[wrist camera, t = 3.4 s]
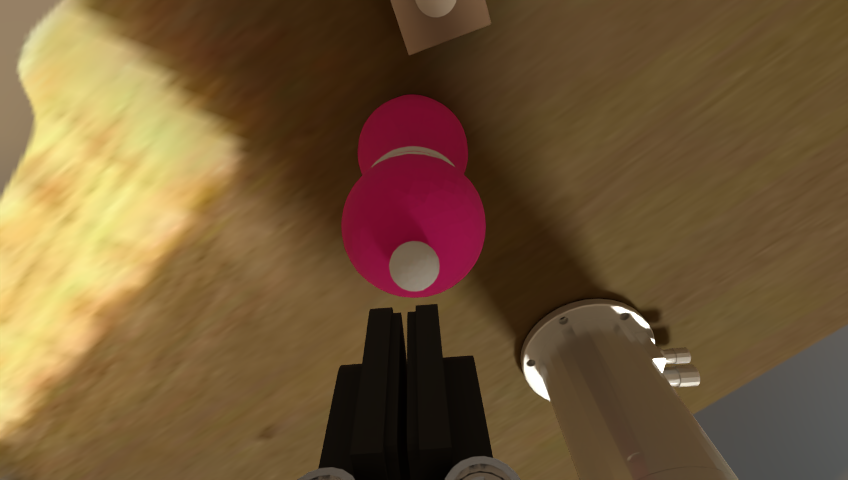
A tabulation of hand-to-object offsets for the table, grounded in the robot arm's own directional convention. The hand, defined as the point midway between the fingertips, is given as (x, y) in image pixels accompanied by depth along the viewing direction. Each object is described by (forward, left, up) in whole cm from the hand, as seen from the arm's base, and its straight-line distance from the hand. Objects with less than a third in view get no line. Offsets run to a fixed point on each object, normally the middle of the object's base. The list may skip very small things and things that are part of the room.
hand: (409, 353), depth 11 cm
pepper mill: (0, 0, -24) cm, 24 cm away
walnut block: (-2, -9, -24) cm, 26 cm away
